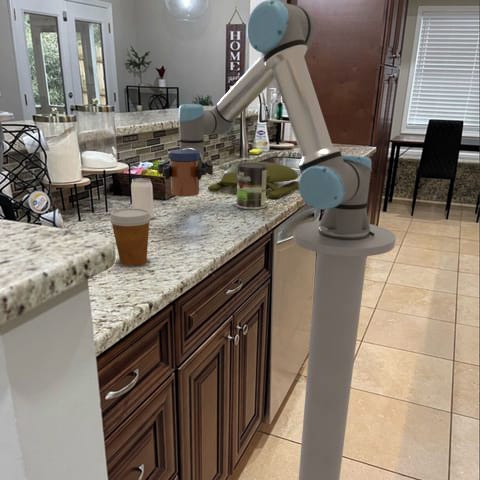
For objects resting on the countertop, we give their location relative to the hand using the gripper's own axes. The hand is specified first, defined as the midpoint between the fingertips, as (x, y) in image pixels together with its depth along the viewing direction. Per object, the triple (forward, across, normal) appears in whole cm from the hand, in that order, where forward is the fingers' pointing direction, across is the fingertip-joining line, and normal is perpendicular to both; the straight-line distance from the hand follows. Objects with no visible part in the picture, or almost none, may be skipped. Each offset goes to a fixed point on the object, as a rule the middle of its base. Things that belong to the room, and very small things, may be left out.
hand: (182, 174), depth 130 cm
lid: (-5, 0, +5) cm, 7 cm away
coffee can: (-42, -20, -18) cm, 50 cm away
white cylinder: (-24, +15, -18) cm, 34 cm away
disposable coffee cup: (+18, +11, -18) cm, 28 cm away
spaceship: (-76, -24, -18) cm, 81 cm away
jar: (-5, 0, -6) cm, 8 cm away
